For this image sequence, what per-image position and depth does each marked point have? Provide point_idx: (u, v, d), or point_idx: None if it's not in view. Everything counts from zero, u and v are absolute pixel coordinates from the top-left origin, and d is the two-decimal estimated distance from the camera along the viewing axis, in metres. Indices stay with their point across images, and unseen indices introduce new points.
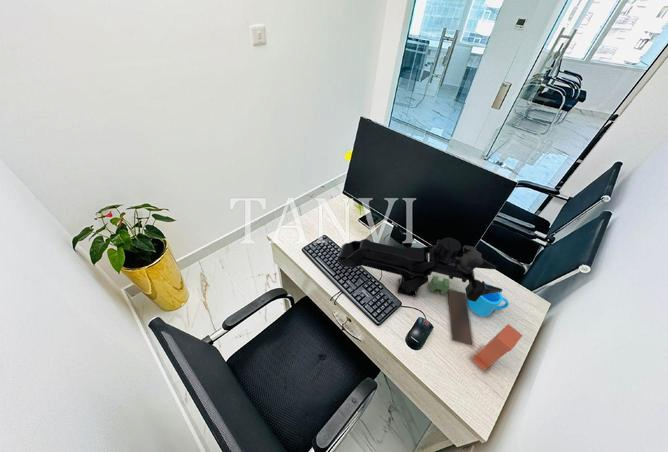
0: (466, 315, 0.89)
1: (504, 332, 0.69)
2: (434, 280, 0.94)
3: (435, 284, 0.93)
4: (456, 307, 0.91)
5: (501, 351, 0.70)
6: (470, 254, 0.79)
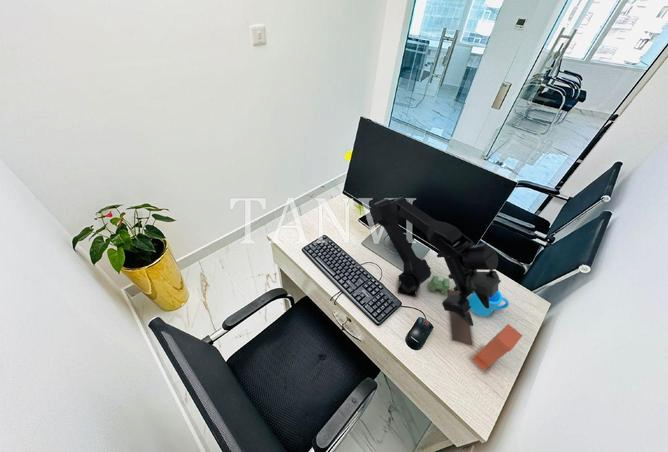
0: None
1: (504, 332, 0.69)
2: (434, 280, 0.94)
3: (435, 284, 0.93)
4: None
5: (501, 351, 0.70)
6: (490, 281, 0.68)
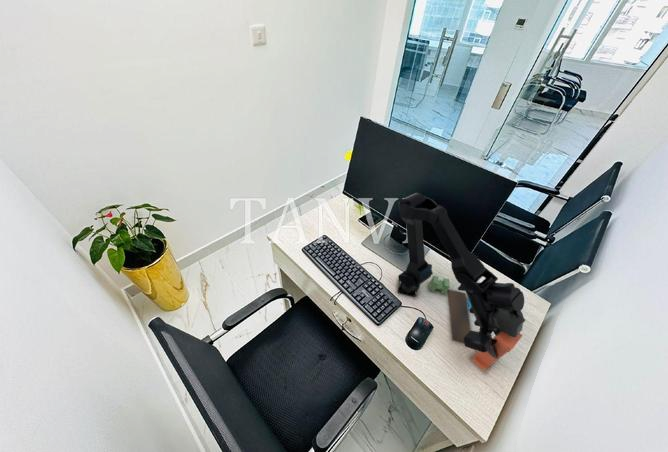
0: (466, 315, 0.89)
1: None
2: (434, 280, 0.94)
3: (435, 284, 0.93)
4: (456, 307, 0.91)
5: (501, 351, 0.70)
6: (515, 320, 0.66)
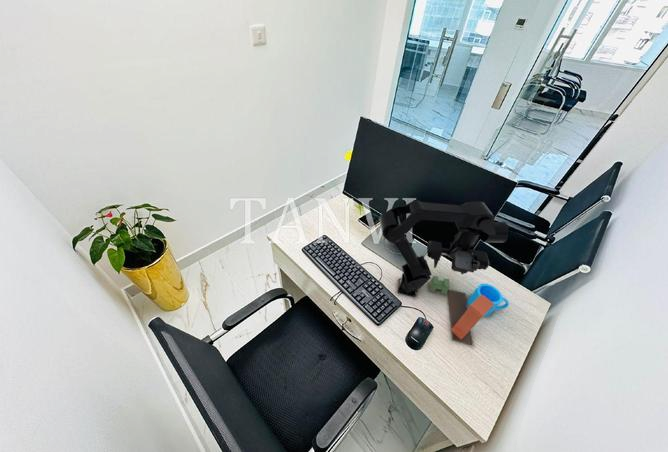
0: None
1: (478, 301, 0.75)
2: (434, 280, 0.94)
3: (435, 284, 0.93)
4: (456, 307, 0.91)
5: (475, 319, 0.76)
6: (464, 265, 0.76)
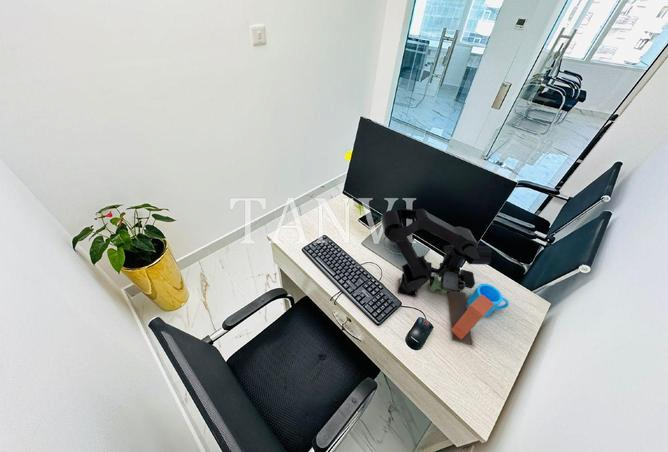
0: None
1: (478, 301, 0.75)
2: None
3: (435, 284, 0.93)
4: (456, 307, 0.91)
5: (475, 319, 0.76)
6: (452, 285, 0.83)
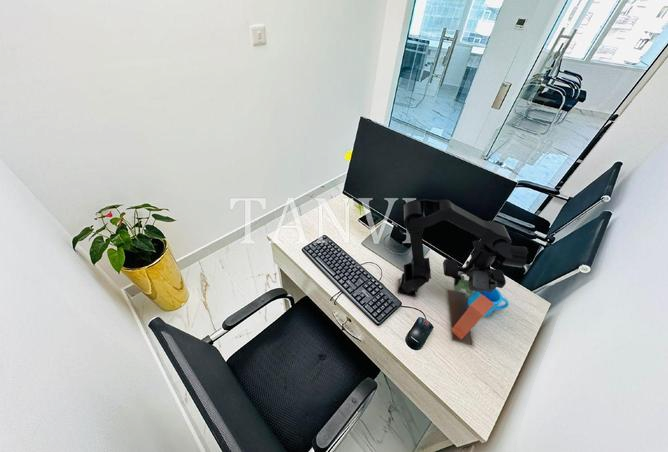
0: None
1: (478, 301, 0.75)
2: None
3: (461, 284, 0.88)
4: (456, 307, 0.91)
5: (475, 319, 0.76)
6: (482, 285, 0.78)
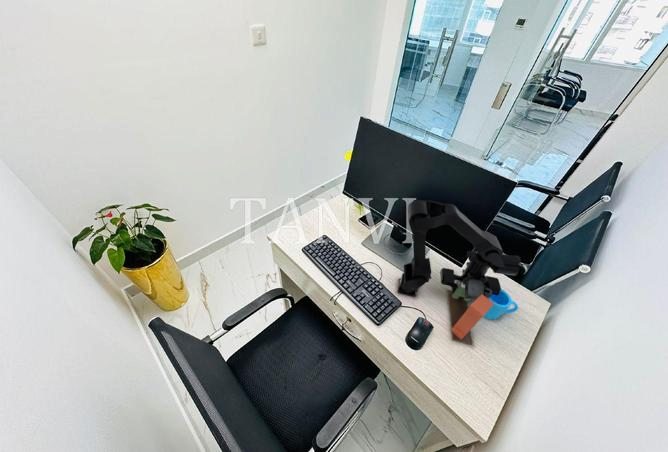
0: None
1: (478, 301, 0.75)
2: None
3: (458, 291, 0.91)
4: (456, 307, 0.91)
5: (475, 319, 0.76)
6: (477, 293, 0.81)
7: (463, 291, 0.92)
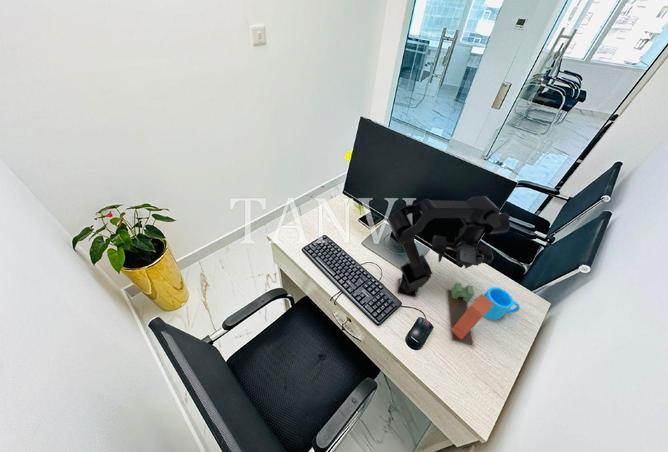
0: None
1: (478, 301, 0.75)
2: (457, 287, 0.91)
3: (458, 291, 0.91)
4: (456, 307, 0.91)
5: (475, 319, 0.76)
6: (469, 258, 0.78)
7: (463, 291, 0.92)
